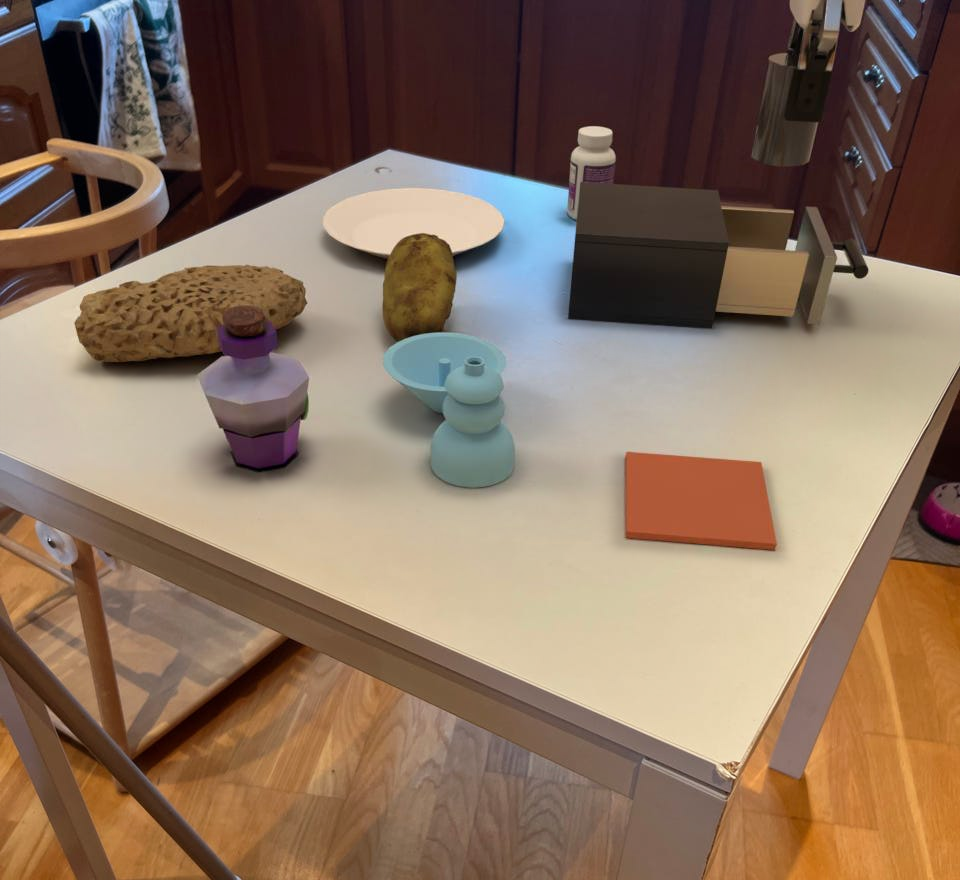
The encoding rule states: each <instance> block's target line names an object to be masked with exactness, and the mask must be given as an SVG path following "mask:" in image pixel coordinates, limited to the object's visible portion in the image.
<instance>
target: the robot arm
mask: <svg viewBox="0 0 960 880" xmlns="http://www.w3.org/2000/svg"><path fill="white" fill-rule="evenodd" d="M865 3H866V0H789V9H790V12H791V14H792V16H793V17H794V19H793V22H792V27H791V29H790V30H791V31H790V34H789V38H788V43H787V50H785V52H784V53H800V55H799V61H798V68H793V73H792V78H791V82H790V87H789V92H788V97H787V101H786V106H785V111H784V118H785V120H786V121H799V122H818V123H819V122H820V121H821V120H822V117H823V113H824V108H825V104H826V100H827V96H828V91H829V87H830V83H831V79H832V75H833V68H834V63H835V57H836V52H837V45H838V40H839V35H840V31H841V24H842V25H843V26H844V27H845V30H847V32H851V33H852V32H855V31H856V30H857V29H858V28H859V27H860V25H861V22H862V17H863V14H864V8H865Z"/></svg>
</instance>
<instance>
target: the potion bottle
mask: <svg viewBox="0 0 960 880" xmlns="http://www.w3.org/2000/svg"><path fill="white" fill-rule="evenodd" d="M222 319H223V323H224V325H222V326H221V327H219V328H218V329H217V334H218V340H219V345H220V348H221V350H222V355H221V356H220V357H219V358H217V359H216V360H215V361H214V362H212V363H211V364H210V365H208V366H207V367H206V368H204V369H202V371H199V373H197V374H196V375H197V378H198V381H199V383H200V386H201V388H202V391H203V393H204V396H205V398H206V401H207V403H208V405H209V407H210V410H211V412H212V414H213V417H214V419H215V422H216V424H217V426H218V429H222V431H223V433H224V435H225V438H226V440H227V442H228V444H229V447H230V449H231V451H230V455H231V457H232V460H233V462H234V465H235V467H238V468H243V469H245V470H246V469H247V470H250V471H253V472H257V473H261V472H266V471H272V470H276V469H277V470H278V469H282V468H286V467H287V466H288V465H289V464H290V463H291V462H293V460H294V459H295V458H297V456H299V455H300V452H299V451H298V442H299V433H300V426H301V421H305V420H306V419H307V417H308V414H309V407H310V406H309V405H310V404H309V403H310V402H309V401H310V400H309V393H308V391H309V390H308V389H309V382H310V377H309V375H308V372H307V371H306V369H305V367H304V366H303V363H302V362H301V360H300V359H299V358H298V357H294V356H290V355H286V354H282V353H281V354H280V353H277V352H273V351H274V350H275V349H277V348H278V347H279V344H278V337H277V329H276V330H275V328H274V327H273V325H272V323H271V321H267V320H266V317H265V315H264V314H263V310H262V309H261V308H259V307H257V306H236V307H232V308H230V309H227V310H226V311H225V312H224V313H223V314H222Z"/></svg>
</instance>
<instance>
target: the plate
mask: <svg viewBox="0 0 960 880" xmlns="http://www.w3.org/2000/svg"><path fill="white" fill-rule="evenodd" d="M505 222H506V221H505V219H504V216H503V214H502V212H501V211H500V210H499V209H498V208H497V207H496V206H494V205H493V204H491V203H489V202H487V201H486V200H483V199H482V198H479V197H476V196H472V195H469V194H466V193H462V192H457V191H452V190H446V189H437V188H424V187H403V188H387V189H381V190H375V191H368V192H364V193H361V194H356V195H353V196H350V197H347V198H346V199H342V200H341V201H339V202H337V203H336V204H334V205H332V207H330V208H329V209H327V210H326V213H325V214H324V215H323V217H322V226H323V229H324V230H325V231H326V232H327V234H328V235H329V236H330V237H332V238H333V239H334V240H336V241H337V242H339V243H341V244H343V245H346V246H348V247H351V248H353V249H356V250H359V251H362V252H365V253H367V254H369V255H372V256H375V257H378V258H381V259H387V260H388V258H389V256H390V254H391V252H392V250H393V248H394V247H395V245H396V244H397V243H398V242H399V241H400V240H401V239H403V238H404V237H407V236H410V235H413V234H420V233H426V234H430V235H436V236H438V238H440V239H443V240H445V241H446V242H447V243H448V244H449V245H450V248H451V251H452V254H453V257H454V256H456V255H460V254H464V252H467V251H469V250H472V249H474V248H475V249H476V248H479V247H480V246H483V245H486V244H487V243H489V242H491V241H492V240H494V239H496V238H497V237H498V236H499V235H500V233H502V232H503V230H504V226H505Z"/></svg>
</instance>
